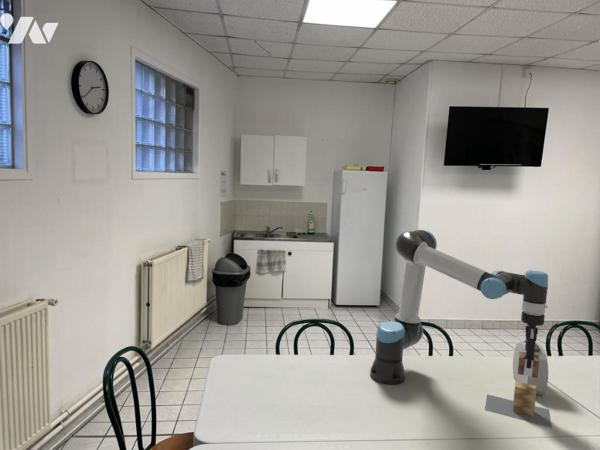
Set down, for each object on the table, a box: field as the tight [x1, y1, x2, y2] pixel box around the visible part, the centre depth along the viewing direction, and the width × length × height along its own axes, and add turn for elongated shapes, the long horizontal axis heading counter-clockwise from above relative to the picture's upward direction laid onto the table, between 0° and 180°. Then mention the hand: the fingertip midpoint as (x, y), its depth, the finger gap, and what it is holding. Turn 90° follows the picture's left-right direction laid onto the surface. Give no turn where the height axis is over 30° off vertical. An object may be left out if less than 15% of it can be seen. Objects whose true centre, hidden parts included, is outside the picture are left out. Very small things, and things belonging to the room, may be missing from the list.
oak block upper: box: [513, 380, 537, 405], centre depth 161 cm, size 7×5×5 cm
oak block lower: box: [512, 398, 536, 417], centre depth 161 cm, size 7×5×5 cm
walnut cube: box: [518, 352, 539, 378], centre depth 159 cm, size 6×6×6 cm
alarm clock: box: [512, 339, 549, 396], centre depth 182 cm, size 21×8×20 cm, turn 168°
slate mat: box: [484, 394, 553, 428], centre depth 162 cm, size 22×14×1 cm, turn 63°
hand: (527, 371), depth 160 cm, fingers closed on walnut cube, 6 cm apart
